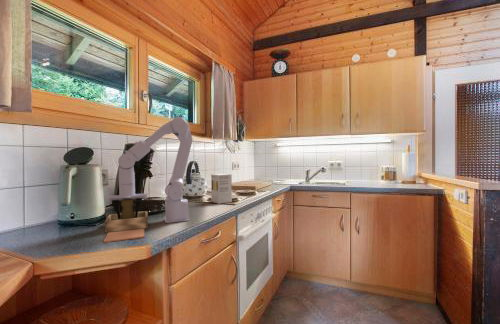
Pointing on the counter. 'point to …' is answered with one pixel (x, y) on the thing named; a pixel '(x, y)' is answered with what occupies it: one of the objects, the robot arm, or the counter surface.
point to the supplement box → (221, 188)
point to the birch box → (126, 222)
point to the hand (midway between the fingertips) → (127, 217)
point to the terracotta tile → (124, 235)
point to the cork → (127, 208)
